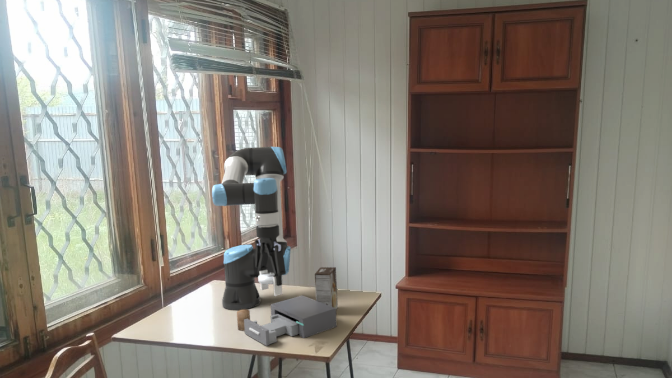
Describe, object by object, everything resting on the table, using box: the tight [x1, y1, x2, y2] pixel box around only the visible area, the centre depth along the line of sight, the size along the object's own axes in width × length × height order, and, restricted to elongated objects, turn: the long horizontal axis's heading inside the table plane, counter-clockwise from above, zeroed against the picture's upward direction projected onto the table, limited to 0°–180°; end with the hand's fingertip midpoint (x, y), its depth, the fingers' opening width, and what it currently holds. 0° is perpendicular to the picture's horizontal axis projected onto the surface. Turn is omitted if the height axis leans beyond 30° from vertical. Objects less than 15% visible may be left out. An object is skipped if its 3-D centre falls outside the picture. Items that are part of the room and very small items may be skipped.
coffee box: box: [314, 266, 339, 310], centre depth 186 cm, size 9×6×16 cm
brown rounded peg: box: [236, 309, 251, 332], centre depth 173 cm, size 4×4×6 cm
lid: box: [257, 273, 284, 285], centre depth 165 cm, size 8×8×2 cm
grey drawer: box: [244, 314, 299, 347], centre depth 166 cm, size 14×14×5 cm
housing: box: [270, 294, 337, 339], centre depth 174 cm, size 20×14×7 cm
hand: (271, 291), depth 165 cm, fingers closed on lid, 8 cm apart
